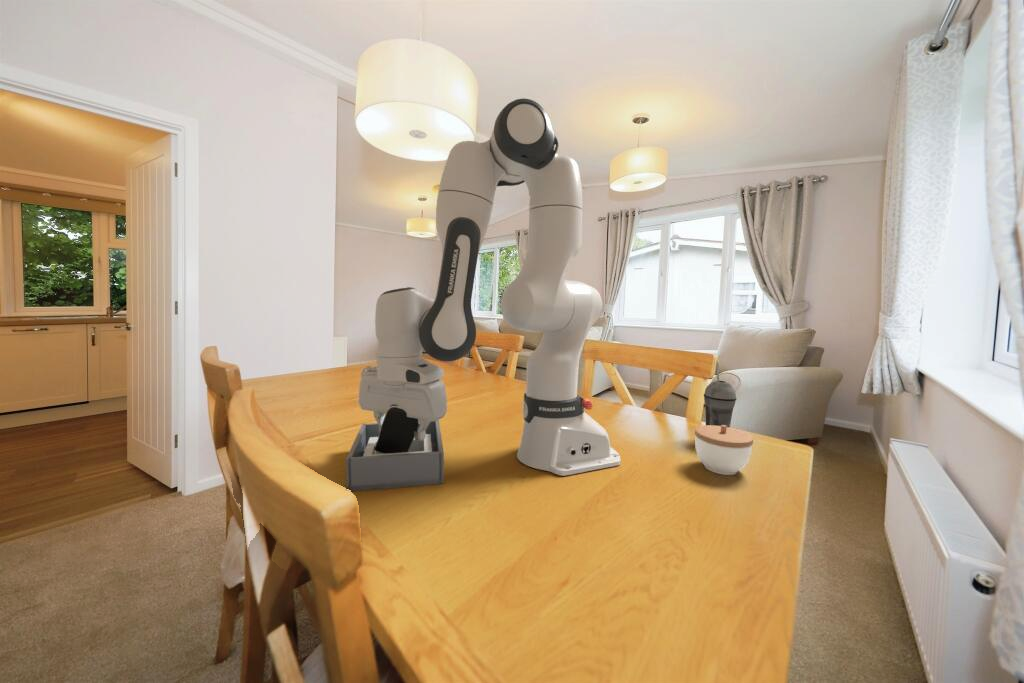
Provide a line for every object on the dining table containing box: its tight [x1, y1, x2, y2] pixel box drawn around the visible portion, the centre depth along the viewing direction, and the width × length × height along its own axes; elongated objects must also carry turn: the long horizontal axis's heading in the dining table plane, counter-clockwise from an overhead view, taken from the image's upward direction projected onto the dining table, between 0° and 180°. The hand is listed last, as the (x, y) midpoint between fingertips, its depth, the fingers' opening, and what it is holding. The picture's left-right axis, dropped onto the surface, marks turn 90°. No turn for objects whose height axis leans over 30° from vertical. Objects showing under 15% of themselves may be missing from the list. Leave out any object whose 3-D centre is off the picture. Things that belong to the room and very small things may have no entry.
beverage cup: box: [703, 362, 738, 428], centre depth 97 cm, size 7×7×20 cm
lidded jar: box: [694, 424, 754, 476], centre depth 82 cm, size 11×11×9 cm
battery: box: [375, 404, 419, 454], centre depth 80 cm, size 7×4×11 cm, turn 99°
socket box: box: [345, 419, 445, 492], centre depth 81 cm, size 17×20×6 cm
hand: (401, 435), depth 80 cm, fingers open, 8 cm apart
